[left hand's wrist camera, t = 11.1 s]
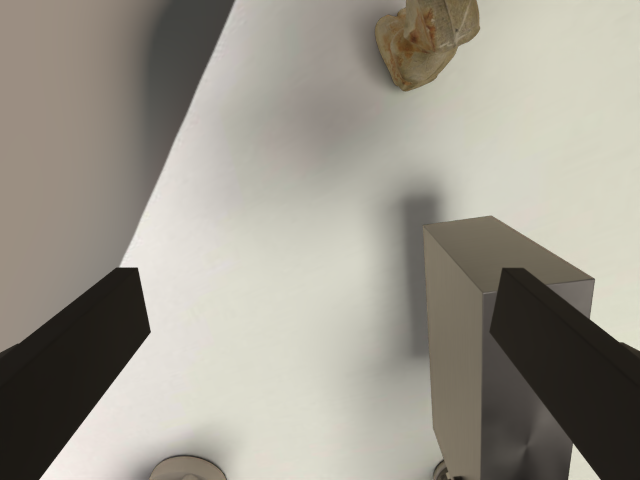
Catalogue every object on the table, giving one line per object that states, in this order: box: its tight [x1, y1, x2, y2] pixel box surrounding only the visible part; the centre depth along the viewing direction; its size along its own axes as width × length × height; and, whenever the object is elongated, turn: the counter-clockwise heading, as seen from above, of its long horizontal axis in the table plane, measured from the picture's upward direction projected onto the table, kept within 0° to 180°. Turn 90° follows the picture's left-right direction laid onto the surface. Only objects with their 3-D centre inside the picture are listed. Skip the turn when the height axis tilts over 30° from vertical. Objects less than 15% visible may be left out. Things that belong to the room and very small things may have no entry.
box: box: [423, 216, 595, 480], centre depth 29 cm, size 24×6×12 cm, turn 8°
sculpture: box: [375, 0, 480, 91], centre depth 29 cm, size 6×7×15 cm
